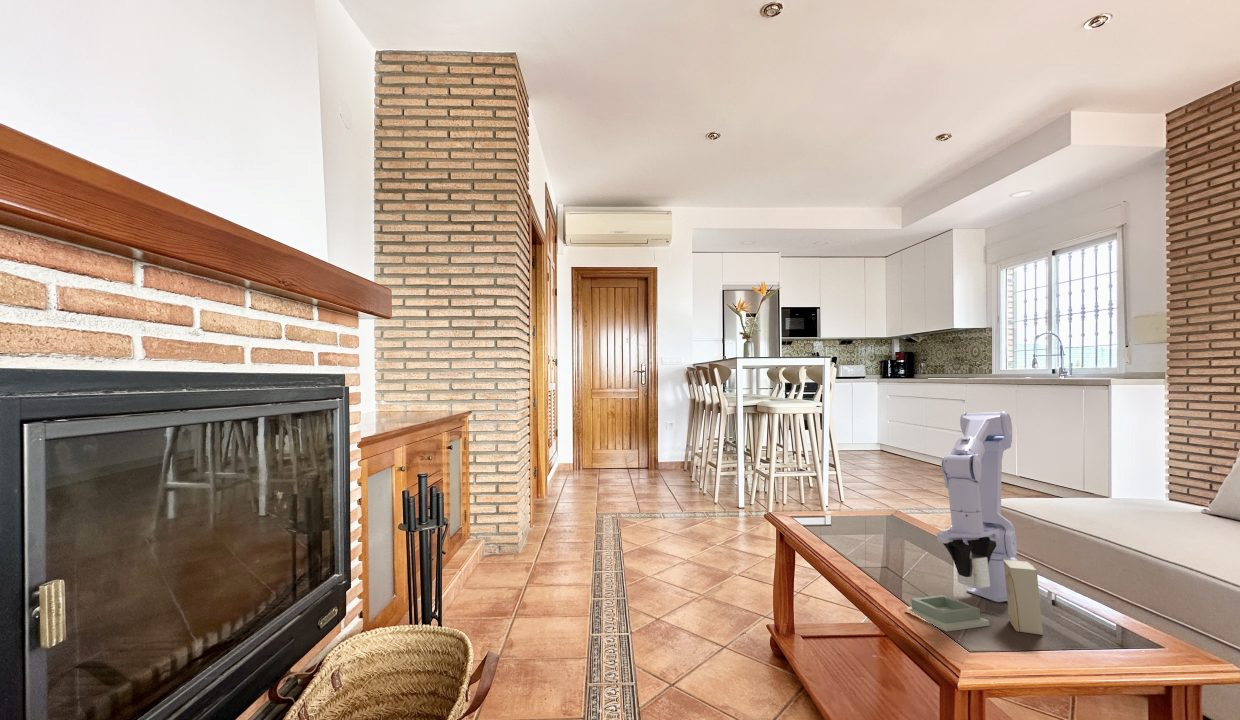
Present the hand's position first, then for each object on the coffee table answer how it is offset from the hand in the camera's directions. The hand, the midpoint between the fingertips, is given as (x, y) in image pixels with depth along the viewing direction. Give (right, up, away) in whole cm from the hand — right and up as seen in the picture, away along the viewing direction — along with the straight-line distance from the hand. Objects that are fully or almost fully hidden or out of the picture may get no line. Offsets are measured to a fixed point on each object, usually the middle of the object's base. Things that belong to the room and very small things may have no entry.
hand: (972, 574), depth 108 cm
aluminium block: (0, -2, 0) cm, 2 cm away
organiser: (-8, -8, -4) cm, 12 cm away
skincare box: (+4, -7, -9) cm, 12 cm away
